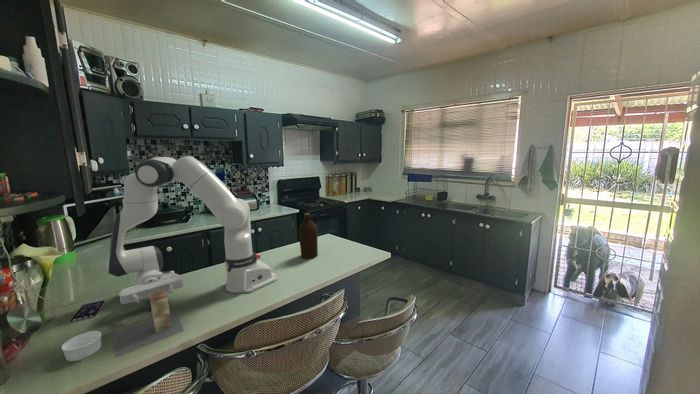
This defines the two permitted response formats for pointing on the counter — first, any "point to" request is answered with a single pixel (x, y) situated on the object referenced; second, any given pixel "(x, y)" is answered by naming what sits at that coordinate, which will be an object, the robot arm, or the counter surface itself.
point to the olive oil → (308, 238)
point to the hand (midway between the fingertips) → (155, 296)
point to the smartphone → (87, 311)
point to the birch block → (160, 310)
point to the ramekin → (82, 346)
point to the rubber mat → (143, 335)
